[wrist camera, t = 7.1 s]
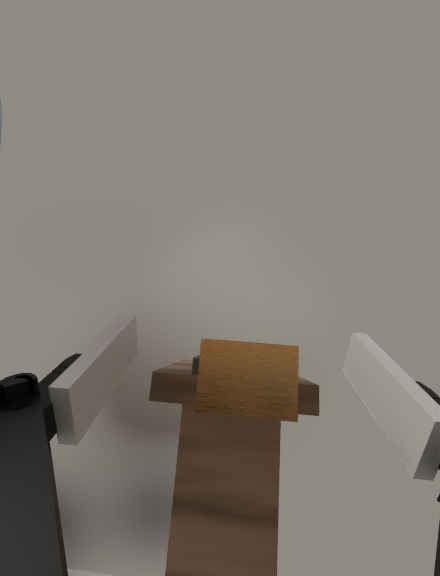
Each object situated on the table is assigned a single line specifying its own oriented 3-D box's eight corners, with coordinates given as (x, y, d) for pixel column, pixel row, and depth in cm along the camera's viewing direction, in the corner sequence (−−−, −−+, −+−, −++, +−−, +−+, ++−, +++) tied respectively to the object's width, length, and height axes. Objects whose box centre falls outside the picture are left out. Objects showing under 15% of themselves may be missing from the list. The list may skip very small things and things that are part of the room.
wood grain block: (297, 421, 9) (298, 346, 9) (194, 412, 9) (201, 338, 9) (244, 364, 32) (245, 344, 33) (216, 362, 32) (218, 342, 33)
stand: (344, 1072, 12) (333, 369, 18) (49, 1019, 12) (141, 353, 19) (280, 681, 25) (287, 358, 32) (141, 663, 26) (176, 349, 33)
